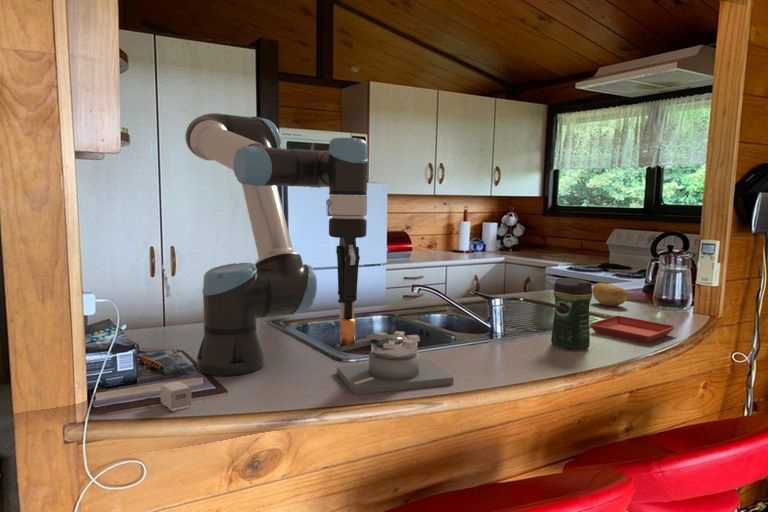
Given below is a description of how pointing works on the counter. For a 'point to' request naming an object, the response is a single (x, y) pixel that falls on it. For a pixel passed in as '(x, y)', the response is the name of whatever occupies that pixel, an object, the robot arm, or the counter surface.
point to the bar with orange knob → (378, 342)
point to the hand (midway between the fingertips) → (346, 332)
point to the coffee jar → (571, 314)
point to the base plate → (389, 385)
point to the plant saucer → (631, 329)
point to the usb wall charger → (175, 395)
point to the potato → (609, 294)
